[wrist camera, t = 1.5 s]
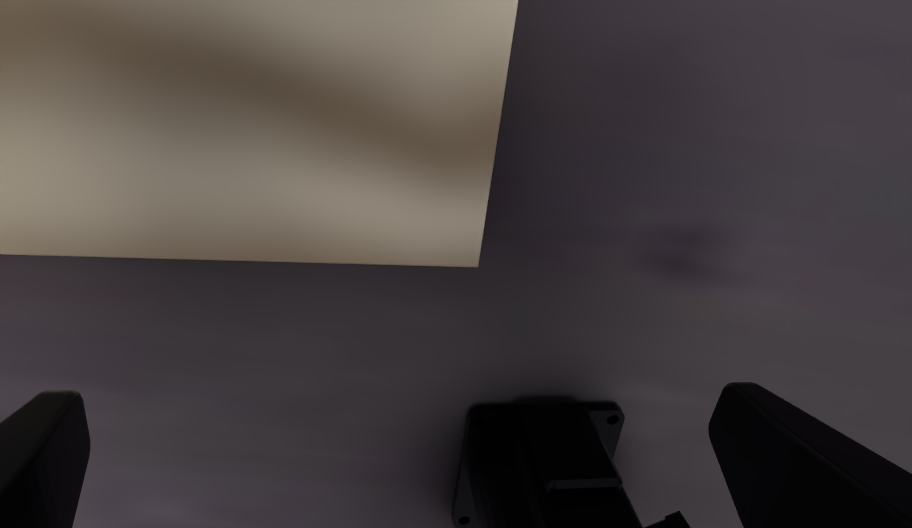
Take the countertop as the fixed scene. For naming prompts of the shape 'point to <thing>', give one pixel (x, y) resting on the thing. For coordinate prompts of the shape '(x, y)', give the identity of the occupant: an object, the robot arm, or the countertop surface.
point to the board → (251, 128)
